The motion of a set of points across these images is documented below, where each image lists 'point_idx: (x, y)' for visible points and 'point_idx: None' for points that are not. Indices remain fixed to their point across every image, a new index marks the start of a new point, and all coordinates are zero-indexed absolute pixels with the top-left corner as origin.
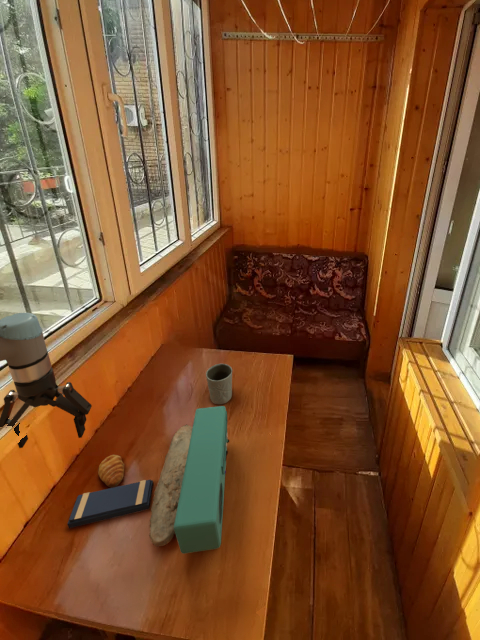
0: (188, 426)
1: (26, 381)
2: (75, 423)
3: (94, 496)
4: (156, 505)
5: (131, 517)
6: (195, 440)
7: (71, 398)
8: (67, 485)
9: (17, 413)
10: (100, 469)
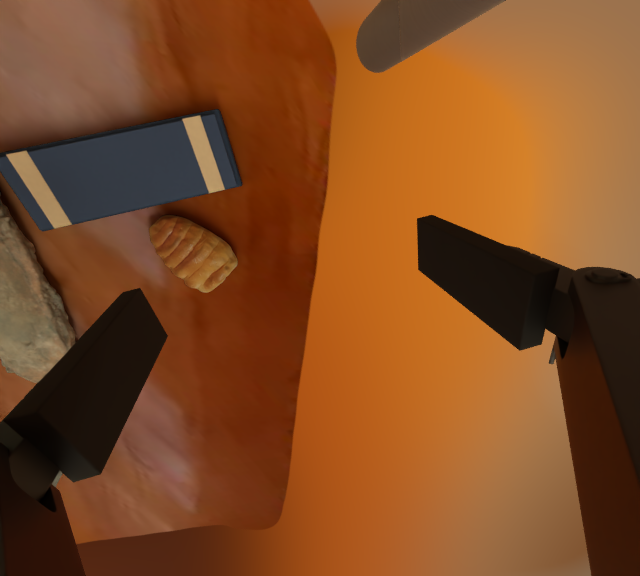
0: (37, 380)
1: None
2: (67, 370)
3: (186, 181)
4: None
5: (49, 132)
6: None
7: None
8: (297, 221)
9: None
10: (222, 253)
